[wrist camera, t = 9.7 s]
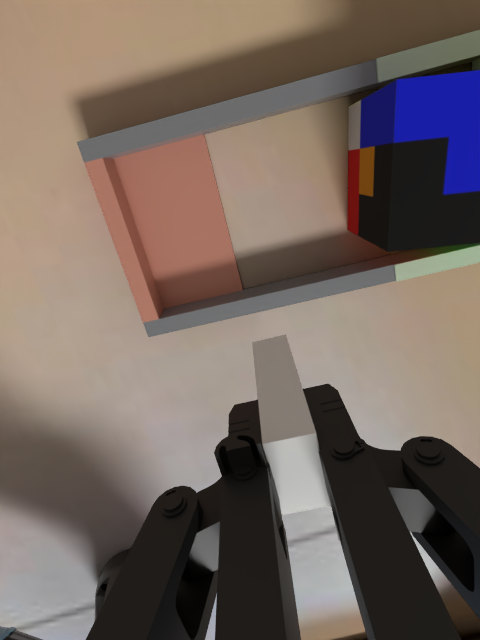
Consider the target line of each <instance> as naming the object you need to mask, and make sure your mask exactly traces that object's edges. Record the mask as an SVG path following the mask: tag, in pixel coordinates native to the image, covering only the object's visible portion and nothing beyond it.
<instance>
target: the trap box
mask: <svg viewBox="0 0 480 640" xmlns="http://www.w3.org/2000/svg"><path fill="white" fill-rule="evenodd" d="M469 62H472V71H475V70H480V30H477V31H473V32H469V33H466V34H462V35H459V36H455V37H451V38H448V39H444V40H441V41H437V42H433V43H430V44H426V45H423V46H419V47H415V48H412V49H408V50H405V51H401V52H397V53H394V54H390V55H387V56H383V57H379V58H376V59H375V60H371V61H367V62H364V63H360V64H356V65H353V66H349V67H346V68H342V69H338V70H335V71H331V72H328V73H324V74H320V75H317V76H313V77H310V78H306V79H302V80H299V81H295V82H292V83H288V84H284V85H281V86H277V87H274V88H270V89H266V90H263V91H259V92H256V93H252V94H248V95H245V96H241V97H238V98H234V99H230V100H227V101H223V102H220V103H216V104H212V105H209V106H205V107H202V108H198V109H194V110H191V111H187V112H184V113H180V114H176V115H173V116H169V117H165V118H162V119H158V120H155V121H151V122H147V123H144V124H140V125H137V126H133V127H129V128H126V129H122V130H119V131H115V132H111V133H108V134H104V135H101V136H97V137H93V138H90V139H86V140H83V141H79V142H77V144H78V147H79V149H80V152H81V155H82V158H83V160H84V163H85V166H86V168H87V171H88V174H89V177H90V179H91V182H92V185H93V187H94V190H95V193H96V196H97V198H98V201H99V204H100V206H101V209H102V212H103V215H104V217H105V220H106V223H107V226H108V228H109V231H110V234H111V236H112V239H113V242H114V245H115V247H116V250H117V253H118V255H119V258H120V261H121V264H122V266H123V269H124V272H125V274H126V277H127V280H128V283H129V285H130V288H131V291H132V293H133V296H134V299H135V302H136V304H137V307H138V310H139V312H140V315H141V318H142V321H143V323H144V326H145V329H146V332H147V334H148V337H151V336H156V335H160V334H164V333H169V332H173V331H177V330H182V329H186V328H191V327H195V326H199V325H204V324H208V323H212V322H217V321H221V320H226V319H230V318H234V317H239V316H243V315H248V314H252V313H256V312H261V311H265V310H269V309H274V308H278V307H283V306H287V305H291V304H296V303H300V302H304V301H309V300H313V299H318V298H322V297H326V296H331V295H335V294H340V293H344V292H348V291H353V290H357V289H361V288H366V287H370V286H375V285H379V284H383V283H388V282H392V281H401V280H405V279H409V278H414V277H418V276H423V275H427V274H431V273H436V272H440V271H444V270H449V269H453V268H458V267H462V266H466V265H471V264H475V263H480V243H472V244H462V245H452V246H441V247H431V248H421V249H414V250H410V251H406V252H401V253H397V254H393V255H388V256H384V257H380V258H376V259H371V260H367V261H363V262H359V263H354V264H350V265H346V266H341V267H337V268H333V269H329V270H324V271H320V272H316V273H312V274H307V275H303V276H299V277H294V278H290V279H286V280H282V281H277V282H273V283H269V284H265V285H260V286H256V287H252V288H247V289H243V288H242V284H241V280H240V276H239V272H238V268H237V264H236V260H235V256H234V252H233V248H232V244H231V240H230V236H229V232H228V228H227V224H226V220H225V216H224V212H223V208H222V204H221V200H220V196H219V192H218V188H217V184H216V180H215V176H214V172H213V168H212V164H211V160H210V156H209V152H208V148H207V144H206V140H205V136H204V134H207V133H211V132H215V131H218V130H222V129H226V128H229V127H233V126H237V125H240V124H244V123H248V122H252V121H255V120H259V119H263V118H266V117H270V116H274V115H277V114H281V113H285V112H288V111H292V110H296V109H299V108H303V107H307V106H311V105H314V104H318V103H322V102H325V101H329V100H333V99H336V98H340V97H344V96H347V95H351V94H355V93H358V92H362V91H366V90H369V89H373V88H377V87H381V86H384V85H388V84H389V83H391V82H393V81H395V80H396V79H404V78H413V77H417V76H421V75H425V74H428V73H432V72H436V71H440V70H443V69H447V68H451V67H454V66H458V65H462V64H465V63H469Z"/></svg>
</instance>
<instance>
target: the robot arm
mask: <svg viewBox="0 0 480 640" xmlns="http://www.w3.org/2000/svg"><path fill="white" fill-rule="evenodd" d="M252 344H253V355H254V365H255V375H256V385H257V395H258V400H255V401H250V402H246V403H241V404H236V405H234V407H233V408H232V410H231V412H230V414H229V430H228V432H229V434H228V436H227V437H226V438H224V439H223V440H221V442H220V443H219V444H218V445H217V446H216V449H215V452H214V454H215V457H216V460H217V463H218V466H219V469H220V472H221V474H222V477H221V478H220V479H219V480H218V481H217V482H216V483H214V484H213V485H211V486H209V487H208V488H205V489H203V490H201V491H199V492H197V493H196V491H194V490H193V489H192V488H191V487H187V486H179V487H174V488H172V489H169V490H167V491H165V492H164V493H163V494H162V495H161V496H159V497H158V498H157V500H156V501H155V503H154V504H153V506H152V508H151V510H150V512H149V514H148V516H147V518H146V520H145V522H144V524H143V526H142V528H141V530H140V532H139V534H138V536H137V538H136V540H135V542H134V544H133V546H132V548H131V549H130V550H127V551H125V552H122V553H120V554H118V555H116V556H115V557H113V558H112V559H111V560H110V561H109V562H108V563H107V564H106V565H105V567H104V568H103V571H102V573H101V576H100V579H99V582H98V585H97V589H96V596H95V622H94V624H93V626H92V628H91V630H90V632H89V634H88V636H87V638H86V640H205V637H206V633H207V629H208V625H209V621H210V617H211V613H212V609H213V605H214V602H215V598H216V594H217V606H216V631H215V640H301V637H300V630H299V623H298V616H297V609H296V602H295V595H294V588H293V581H292V574H291V567H290V560H289V553H288V546H287V539H286V532H285V528H284V524H283V521H282V515H284V514H289V513H295V512H300V511H305V510H310V509H316V508H321V507H326V506H331V507H332V511H333V515H334V520H335V525H336V530H337V534H338V539H339V540H340V542H341V545H342V549H343V553H344V556H345V560H346V563H347V567H348V570H349V574H350V578H351V581H352V585H353V588H354V592H355V595H356V599H357V602H358V606H359V610H360V613H361V617H362V620H363V624H364V627H365V631H366V634H367V638H368V640H461V638H460V636H459V634H458V632H457V630H456V628H455V626H454V623H453V621H452V619H451V617H450V615H449V613H448V611H447V609H446V607H445V605H444V603H443V601H442V599H441V596H440V594H439V592H438V590H437V588H436V586H435V584H434V582H433V580H432V578H431V576H430V574H429V571H428V569H427V567H426V565H425V563H424V561H423V559H422V557H421V555H420V553H419V551H418V549H417V546H416V544H415V542H414V540H413V538H412V536H411V534H410V532H409V531H411V532H412V534H413V536H414V537H415V538H416V540H417V541H418V542H419V543H420V545H421V546H422V547H423V548H424V550H425V551H426V552H427V553H428V555H429V556H430V557H431V559H432V560H433V561H434V562H435V564H436V565H437V566H438V567H439V569H440V570H441V571H442V572H443V574H444V575H445V576H446V577H447V579H448V580H449V581H450V582H451V584H452V585H453V586H454V587H455V589H456V590H457V591H458V592H459V594H460V595H461V596H462V597H463V599H464V600H465V601H466V602H467V604H468V605H469V606H470V608H471V609H472V610H473V611H474V613H475V614H476V615H477V616H478V618H479V619H480V468H479V467H478V466H476V465H475V464H474V463H473V462H471V461H470V460H469V459H468V458H466V457H465V456H464V455H463V454H461V453H460V452H459V451H458V450H457V449H455V448H454V447H453V446H452V445H450V444H448V443H447V442H445V441H443V440H441V439H438V438H434V437H425V436H420V437H416V438H412V439H410V440H408V441H407V442H405V443H404V444H403V446H402V448H401V451H395V450H382V449H378V448H374V447H372V446H370V445H368V444H366V443H365V441H364V440H363V439H361V438H360V437H359V435H358V433H357V431H356V429H355V427H354V425H353V422H352V420H351V418H350V416H349V414H348V412H347V410H346V408H345V405H344V403H343V401H342V399H341V397H340V395H339V392H338V390H336V389H335V388H334V387H332V386H331V385H329V384H324V385H320V386H315V387H310V388H306V389H302V386H301V382H300V379H299V376H298V373H297V369H296V366H295V363H294V360H293V356H292V353H291V350H290V347H289V344H288V340H287V337H286V335H283V336H278V337H274V338H270V339H265V340H261V341H256V342H252ZM281 512H282V515H281ZM0 640H42V639H39V638H37V637H34V636H31V635H28V634H25V633H23V632H20V631H17V630H16V628H15V627H11V628H5V627H1V626H0Z"/></svg>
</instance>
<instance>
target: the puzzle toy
mask: <svg viewBox="0 0 480 640" xmlns="http://www.w3.org/2000/svg"><path fill="white" fill-rule="evenodd" d="M348 230H349V231H351V232H352V233H354V234H356V235H358V236H360V237H362V238H363V239H365V240H367V241H369V242H371V243H373V244H375V245H376V246H378V247H380V248H382V249H384V250H386V251H387V252H391V251H401V250H411V249H421V248H431V247H441V246H452V245H462V244H472V243H480V70H475V71H467V72H458V73H449V74H440V75H431V76H422V77H413V78H404V79H396V80H395V81H393V82H391V83H389V84H388V85H386V86H384V87H382V88H381V89H379V90H377V91H375V92H373V93H372V94H370V95H368V96H366V97H365V98H363V99H361V100H359V101H358V102H356V103H354V104H352V105H351V106H349V125H348Z"/></svg>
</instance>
